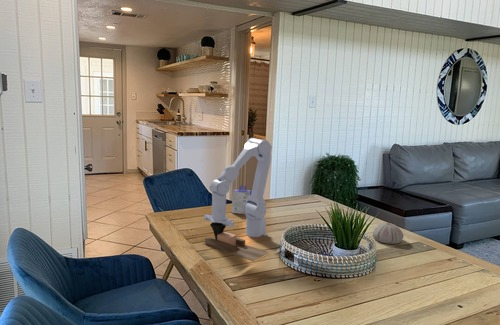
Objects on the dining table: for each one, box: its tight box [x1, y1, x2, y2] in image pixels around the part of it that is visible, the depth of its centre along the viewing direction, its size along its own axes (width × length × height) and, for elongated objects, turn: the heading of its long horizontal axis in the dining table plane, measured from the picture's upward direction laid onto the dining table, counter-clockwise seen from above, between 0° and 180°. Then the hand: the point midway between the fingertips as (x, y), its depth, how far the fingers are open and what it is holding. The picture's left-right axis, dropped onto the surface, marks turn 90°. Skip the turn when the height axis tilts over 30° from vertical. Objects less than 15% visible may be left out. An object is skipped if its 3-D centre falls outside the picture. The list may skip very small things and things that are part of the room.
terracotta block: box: [217, 231, 237, 246], centre depth 161 cm, size 5×6×4 cm
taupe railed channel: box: [202, 236, 269, 264], centre depth 159 cm, size 14×26×4 cm, turn 55°
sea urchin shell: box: [372, 222, 404, 245], centre depth 176 cm, size 13×14×8 cm
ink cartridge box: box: [231, 185, 252, 215], centre depth 208 cm, size 10×6×14 cm, turn 78°
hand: (218, 239), depth 163 cm, fingers closed
